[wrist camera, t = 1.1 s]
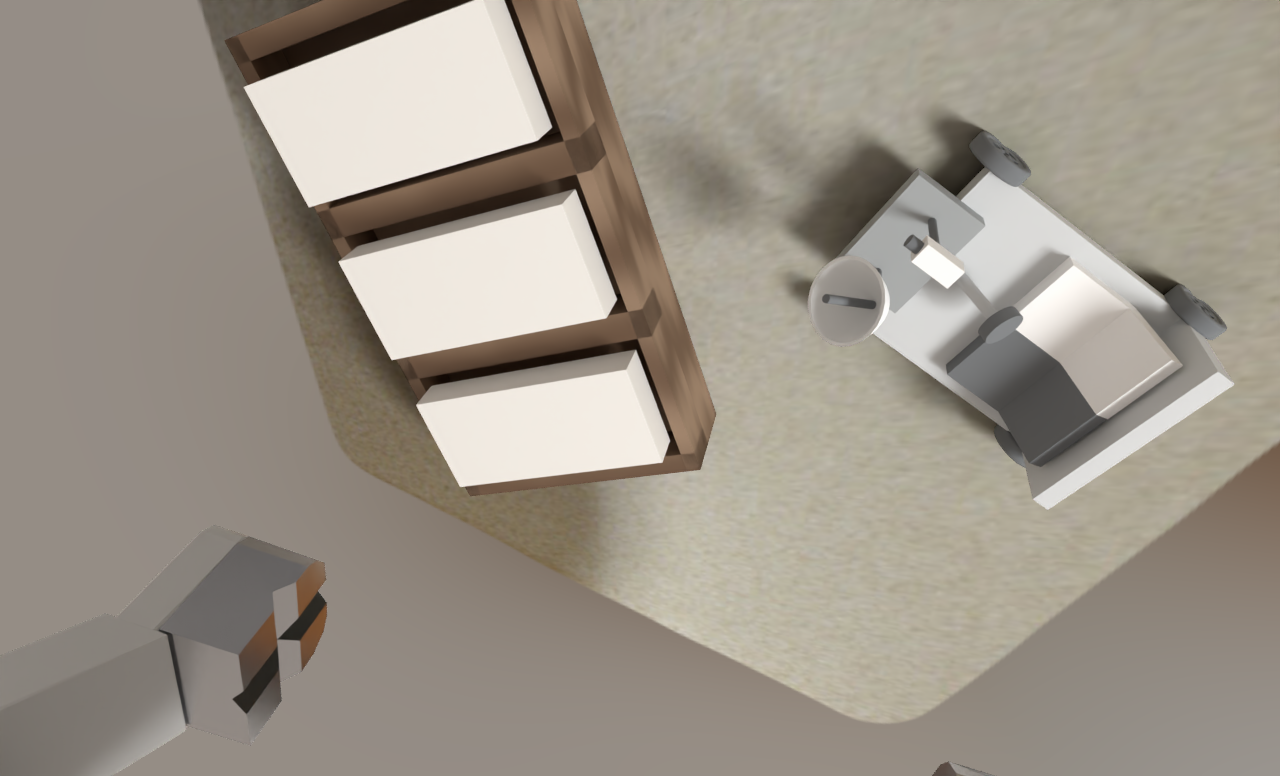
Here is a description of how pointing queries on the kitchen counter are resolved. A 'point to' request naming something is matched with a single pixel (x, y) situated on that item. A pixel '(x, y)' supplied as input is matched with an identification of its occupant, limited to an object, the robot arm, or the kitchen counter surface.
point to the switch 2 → (482, 277)
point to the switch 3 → (547, 420)
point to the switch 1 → (403, 103)
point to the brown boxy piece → (559, 161)
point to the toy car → (1023, 321)
